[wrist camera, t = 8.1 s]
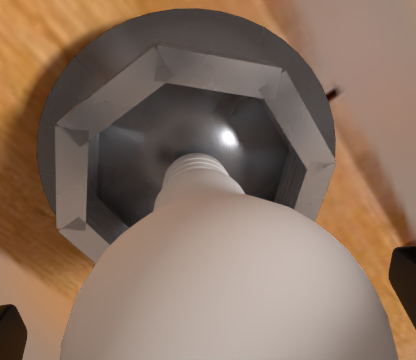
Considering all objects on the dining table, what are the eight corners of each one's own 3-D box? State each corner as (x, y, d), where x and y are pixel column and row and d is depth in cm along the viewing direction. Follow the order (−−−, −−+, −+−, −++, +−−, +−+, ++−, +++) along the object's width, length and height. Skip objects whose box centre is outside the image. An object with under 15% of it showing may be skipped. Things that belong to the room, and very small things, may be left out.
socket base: (360, 180, 17) (405, 219, 13) (166, 298, 19) (166, 356, 16) (229, -68, 12) (251, -99, 8) (-15, 132, 14) (-70, 167, 11)
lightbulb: (100, 111, 12) (-157, 519, 2) (264, 88, 12) (620, 369, 3) (135, 244, 15) (81, 680, 5) (268, 223, 15) (451, 596, 6)
